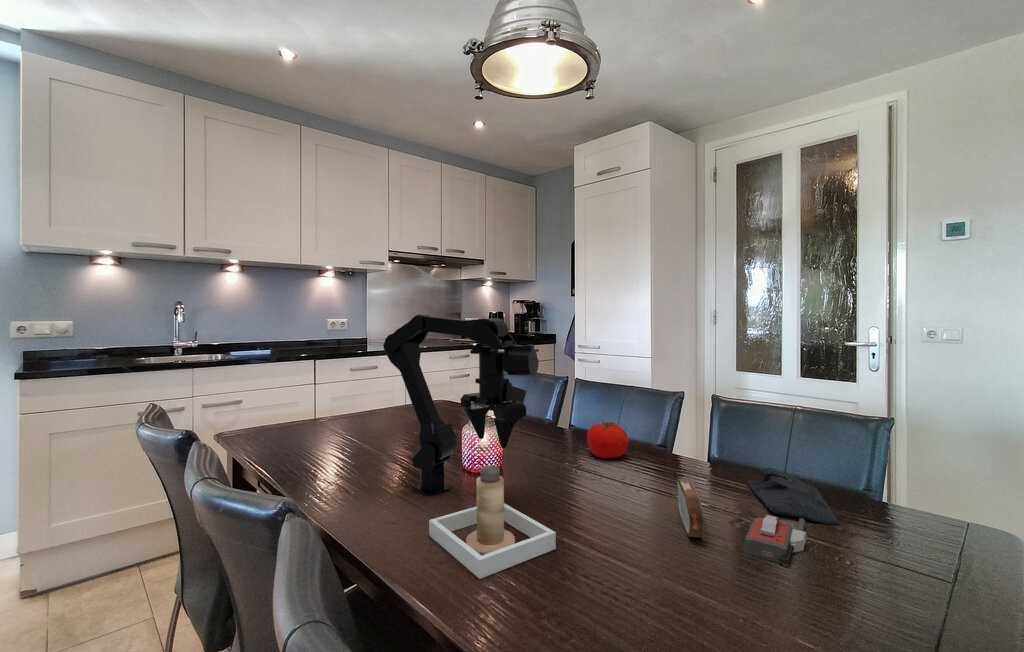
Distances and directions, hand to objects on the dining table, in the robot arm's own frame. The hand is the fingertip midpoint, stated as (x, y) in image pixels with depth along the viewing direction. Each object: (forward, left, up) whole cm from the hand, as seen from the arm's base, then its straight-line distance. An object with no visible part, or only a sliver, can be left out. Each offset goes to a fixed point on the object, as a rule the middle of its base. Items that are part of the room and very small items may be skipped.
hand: (492, 443), depth 105 cm
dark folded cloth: (+40, +53, -14) cm, 68 cm away
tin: (+34, +24, -13) cm, 44 cm away
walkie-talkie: (+47, +32, -14) cm, 59 cm away
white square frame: (+16, -11, -13) cm, 23 cm away
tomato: (-7, +45, -13) cm, 47 cm away
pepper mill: (+16, -11, -12) cm, 23 cm away
